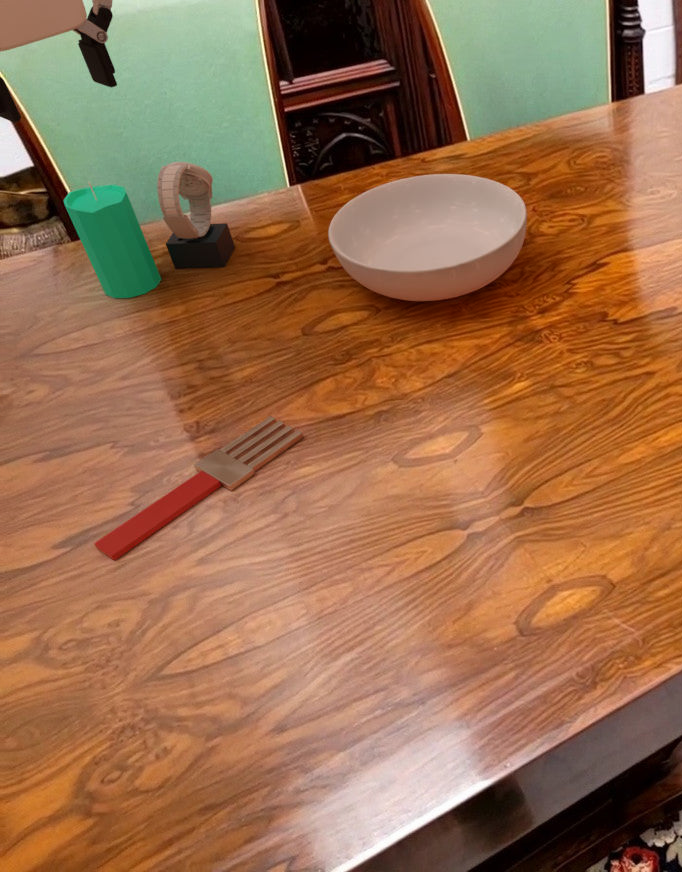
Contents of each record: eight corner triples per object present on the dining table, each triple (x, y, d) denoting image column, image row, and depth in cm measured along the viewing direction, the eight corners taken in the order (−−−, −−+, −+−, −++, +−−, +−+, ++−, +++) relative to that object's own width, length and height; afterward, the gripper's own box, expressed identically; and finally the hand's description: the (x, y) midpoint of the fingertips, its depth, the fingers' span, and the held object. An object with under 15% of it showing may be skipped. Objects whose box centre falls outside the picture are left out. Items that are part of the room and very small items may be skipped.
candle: (91, 295, 101) (43, 192, 93) (126, 266, 106) (83, 167, 98) (139, 301, 100) (94, 198, 92) (172, 272, 105) (133, 172, 97)
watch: (239, 239, 110) (210, 150, 103) (219, 275, 104) (187, 183, 97) (191, 240, 110) (159, 151, 103) (169, 276, 104) (132, 185, 97)
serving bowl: (322, 254, 107) (307, 199, 103) (493, 212, 114) (487, 159, 110) (370, 348, 93) (355, 289, 89) (562, 293, 100) (557, 236, 96)
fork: (123, 567, 72) (120, 562, 72) (87, 542, 74) (84, 537, 74) (305, 438, 83) (304, 433, 83) (270, 419, 85) (268, 414, 85)
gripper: (45, -126, 85) (118, 65, 96) (-163, -85, 74) (-53, 124, 86) (92, -117, 82) (162, 79, 93) (-118, -73, 71) (-10, 142, 82)
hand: (59, 100), depth 89 cm, fingers open, 9 cm apart
